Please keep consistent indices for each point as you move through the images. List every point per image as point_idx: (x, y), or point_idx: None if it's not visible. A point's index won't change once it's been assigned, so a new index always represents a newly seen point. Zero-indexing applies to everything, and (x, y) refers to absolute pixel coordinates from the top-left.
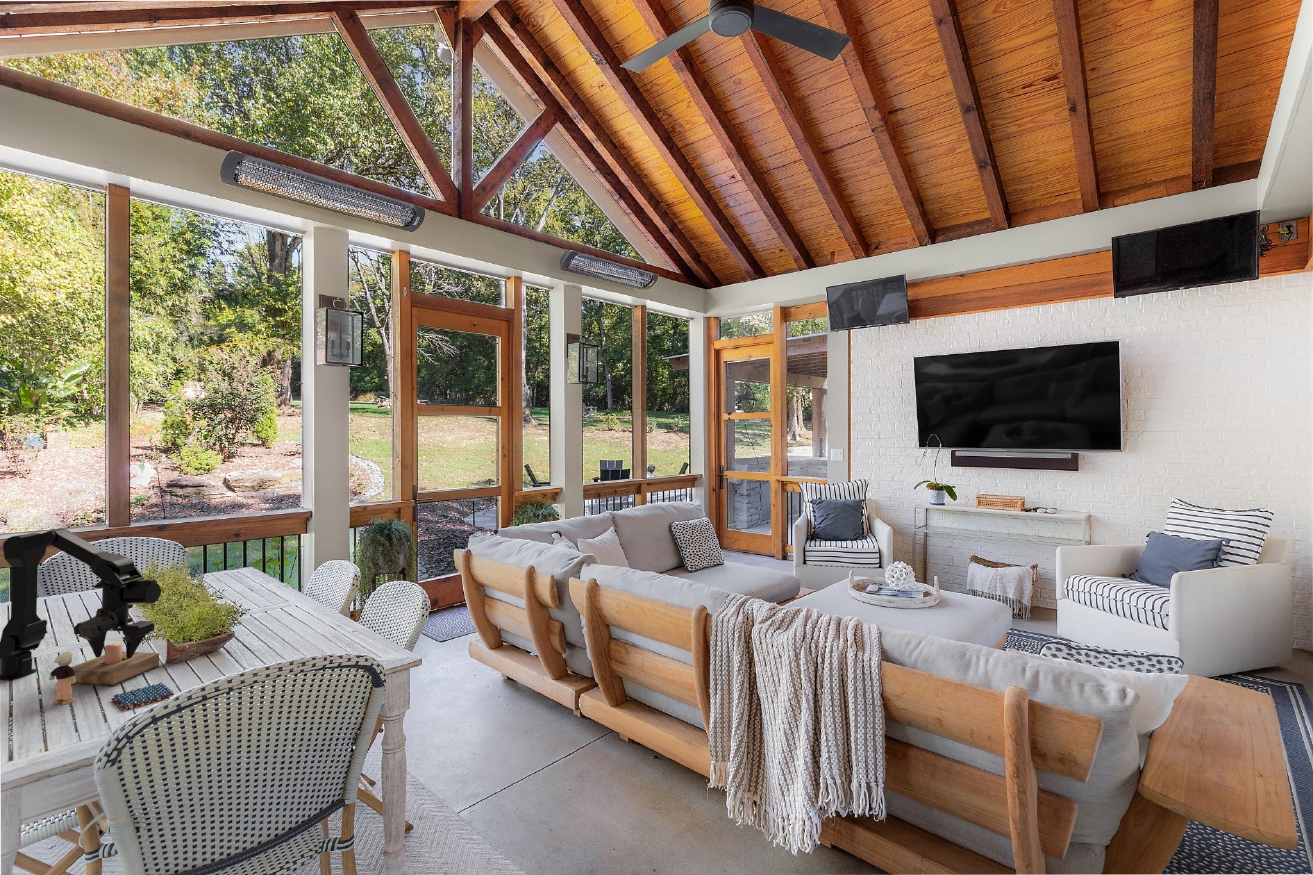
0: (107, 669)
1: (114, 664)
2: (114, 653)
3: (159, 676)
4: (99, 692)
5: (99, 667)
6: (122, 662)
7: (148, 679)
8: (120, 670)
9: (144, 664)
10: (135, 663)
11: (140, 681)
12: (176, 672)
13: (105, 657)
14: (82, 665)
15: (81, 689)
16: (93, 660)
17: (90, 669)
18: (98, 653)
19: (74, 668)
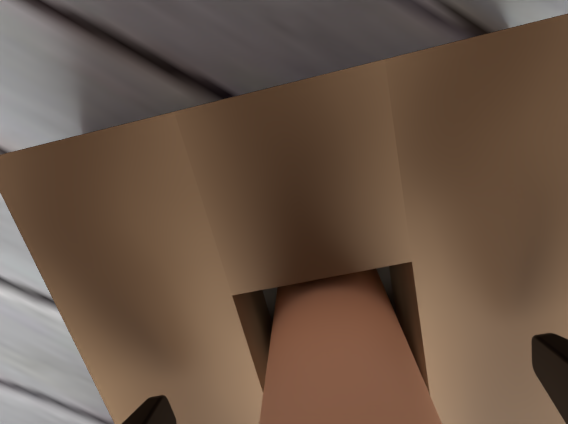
0: (130, 185)
1: (229, 299)
2: (263, 407)
3: (23, 349)
4: (41, 20)
5: (281, 197)
6: (215, 352)
7: (24, 299)
8: (34, 230)
9: None
10: (92, 372)
11: (29, 262)
12: (9, 412)
13: (360, 332)
14: (537, 176)
15: (246, 9)
16: (562, 308)
17: (308, 122)
18: (562, 379)
19: (535, 74)
